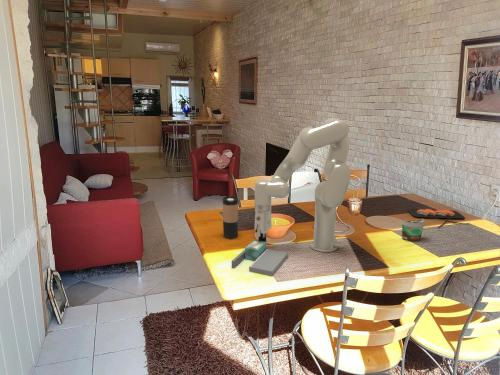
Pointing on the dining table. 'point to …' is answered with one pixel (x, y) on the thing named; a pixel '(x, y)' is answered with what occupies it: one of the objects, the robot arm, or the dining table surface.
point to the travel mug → (230, 217)
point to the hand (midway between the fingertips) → (262, 244)
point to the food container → (412, 230)
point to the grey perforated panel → (264, 261)
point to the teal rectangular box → (255, 249)
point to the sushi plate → (437, 214)
